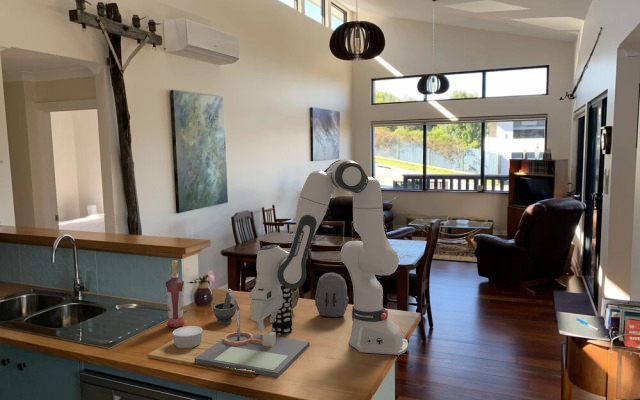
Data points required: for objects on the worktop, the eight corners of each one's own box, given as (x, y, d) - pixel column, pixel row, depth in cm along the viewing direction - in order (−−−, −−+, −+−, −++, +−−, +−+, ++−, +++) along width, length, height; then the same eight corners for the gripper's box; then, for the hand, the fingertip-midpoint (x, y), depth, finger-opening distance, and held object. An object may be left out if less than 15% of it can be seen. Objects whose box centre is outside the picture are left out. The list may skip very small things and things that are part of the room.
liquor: (185, 328, 201) (183, 262, 198) (166, 330, 199) (164, 263, 196) (184, 322, 208) (183, 258, 205) (166, 324, 206) (165, 259, 203)
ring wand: (280, 340, 185) (280, 328, 184) (267, 351, 174) (267, 338, 174) (233, 333, 192) (233, 322, 191) (218, 343, 182) (218, 331, 181)
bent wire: (241, 341, 185) (240, 284, 183) (230, 348, 178) (230, 289, 176) (237, 340, 186) (237, 283, 184) (227, 347, 179) (226, 289, 176)
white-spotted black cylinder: (289, 335, 193) (289, 286, 191) (269, 333, 195) (269, 285, 193) (294, 328, 201) (294, 281, 200) (275, 326, 203) (275, 280, 201)
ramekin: (171, 340, 188) (171, 327, 187) (201, 337, 192) (200, 324, 191) (173, 351, 177) (173, 337, 177) (204, 347, 181) (204, 334, 181)
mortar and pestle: (229, 326, 203) (229, 298, 202) (209, 324, 206) (208, 297, 204) (240, 317, 214) (240, 291, 213) (221, 315, 216) (220, 289, 215)
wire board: (309, 345, 183) (309, 341, 183) (277, 377, 157) (277, 372, 157) (235, 334, 194) (235, 330, 194) (194, 362, 168) (194, 357, 168)
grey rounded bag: (348, 314, 219) (349, 271, 217) (347, 320, 211) (347, 275, 209) (316, 312, 221) (316, 269, 219) (313, 318, 213) (313, 274, 211)
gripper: (272, 281, 189) (271, 316, 190) (247, 294, 170) (246, 333, 171) (287, 283, 187) (286, 318, 188) (263, 296, 168) (262, 335, 169)
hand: (267, 325), depth 179 cm, fingers open, 8 cm apart
